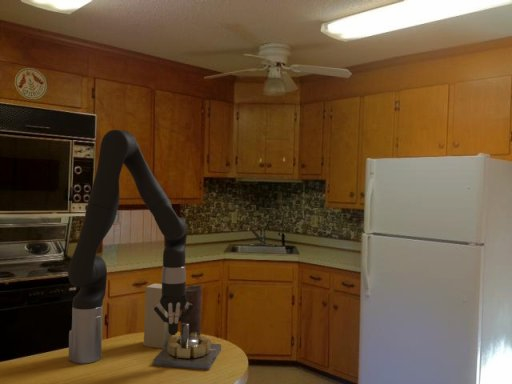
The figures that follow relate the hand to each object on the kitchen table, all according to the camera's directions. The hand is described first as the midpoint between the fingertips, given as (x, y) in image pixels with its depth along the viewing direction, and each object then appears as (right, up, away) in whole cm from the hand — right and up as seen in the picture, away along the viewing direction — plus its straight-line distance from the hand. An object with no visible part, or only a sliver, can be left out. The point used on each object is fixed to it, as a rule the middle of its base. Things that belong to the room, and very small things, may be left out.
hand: (173, 334), depth 149 cm
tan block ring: (+4, -7, +7) cm, 11 cm away
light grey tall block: (-8, -9, +19) cm, 23 cm away
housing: (+4, -10, +7) cm, 13 cm away
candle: (+2, -10, +23) cm, 25 cm away
